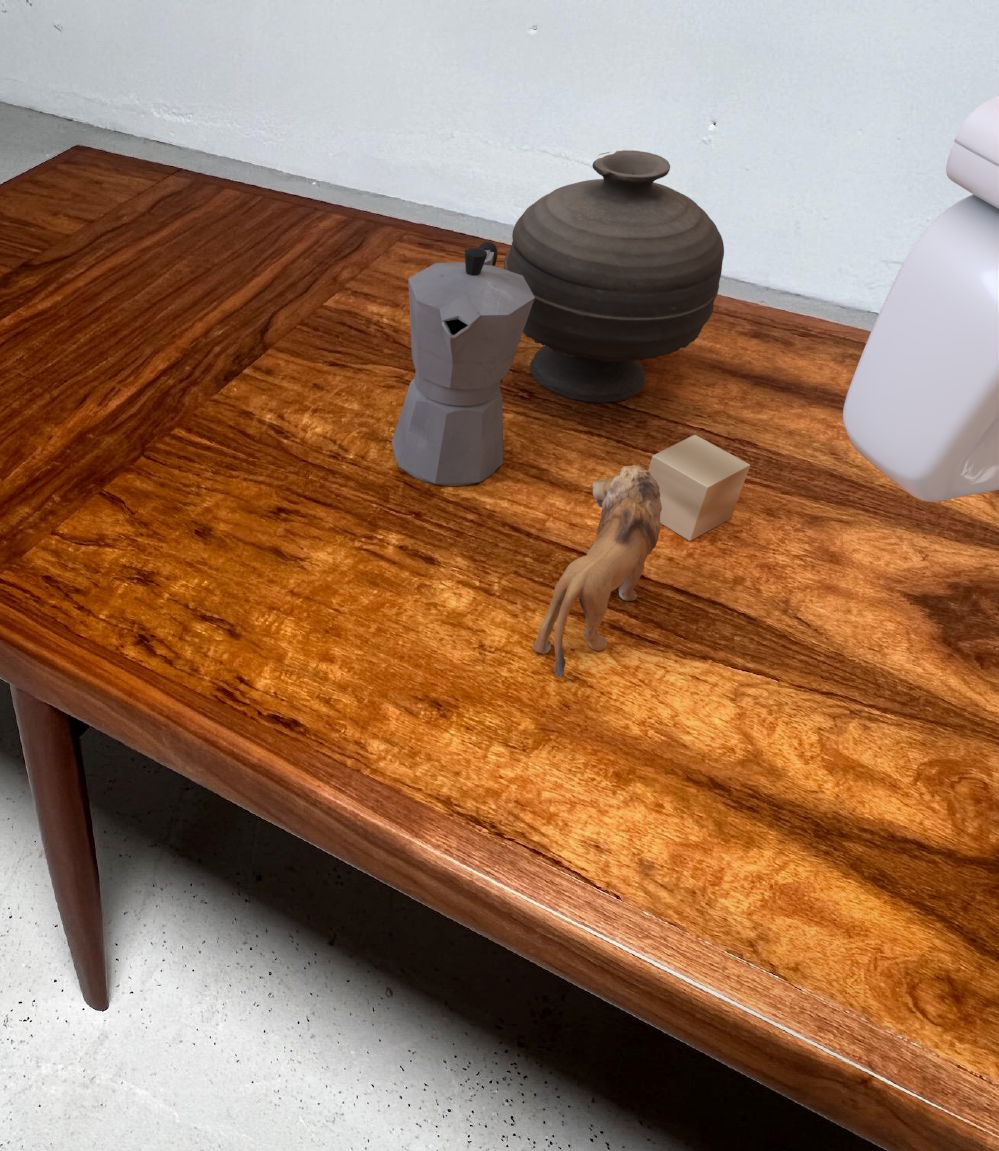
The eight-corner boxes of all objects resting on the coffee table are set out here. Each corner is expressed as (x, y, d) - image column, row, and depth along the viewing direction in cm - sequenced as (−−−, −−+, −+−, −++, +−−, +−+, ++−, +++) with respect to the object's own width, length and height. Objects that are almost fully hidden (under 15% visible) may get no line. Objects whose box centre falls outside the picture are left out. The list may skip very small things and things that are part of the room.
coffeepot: (489, 512, 87) (528, 298, 76) (371, 488, 90) (391, 277, 78) (520, 412, 98) (558, 212, 87) (413, 393, 101) (437, 196, 89)
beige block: (678, 487, 90) (694, 434, 87) (731, 518, 87) (750, 464, 83) (636, 508, 88) (652, 455, 84) (689, 541, 85) (708, 487, 81)
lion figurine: (579, 546, 84) (604, 445, 78) (651, 568, 82) (683, 466, 76) (520, 669, 74) (544, 564, 68) (600, 697, 72) (632, 592, 66)
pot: (453, 390, 100) (500, 160, 88) (516, 323, 113) (564, 114, 101) (656, 451, 93) (736, 211, 81) (698, 372, 106) (773, 155, 94)
